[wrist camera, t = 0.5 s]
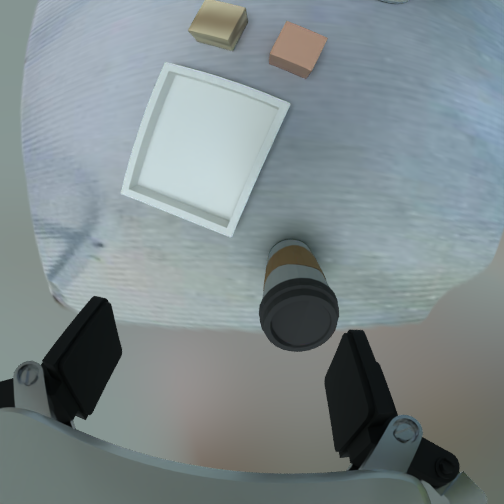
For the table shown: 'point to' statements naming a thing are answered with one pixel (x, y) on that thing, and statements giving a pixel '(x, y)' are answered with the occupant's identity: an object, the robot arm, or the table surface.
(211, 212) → the tray
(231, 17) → the maple block
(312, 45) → the terracotta block
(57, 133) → the table surface
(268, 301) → the coffee cup
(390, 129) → the table surface
